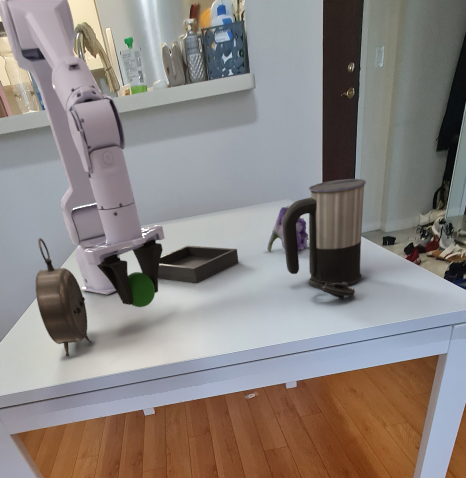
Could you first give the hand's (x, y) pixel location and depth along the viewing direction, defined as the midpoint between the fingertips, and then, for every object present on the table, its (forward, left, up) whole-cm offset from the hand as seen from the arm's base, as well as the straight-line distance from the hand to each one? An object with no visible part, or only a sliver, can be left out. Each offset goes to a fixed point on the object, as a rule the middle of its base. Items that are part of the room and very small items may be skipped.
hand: (140, 297), depth 78 cm
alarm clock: (-4, -12, -4) cm, 13 cm away
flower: (0, +43, -4) cm, 43 cm away
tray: (-14, +26, -4) cm, 30 cm away
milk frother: (+23, +25, -4) cm, 34 cm away
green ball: (0, 0, +1) cm, 1 cm away
